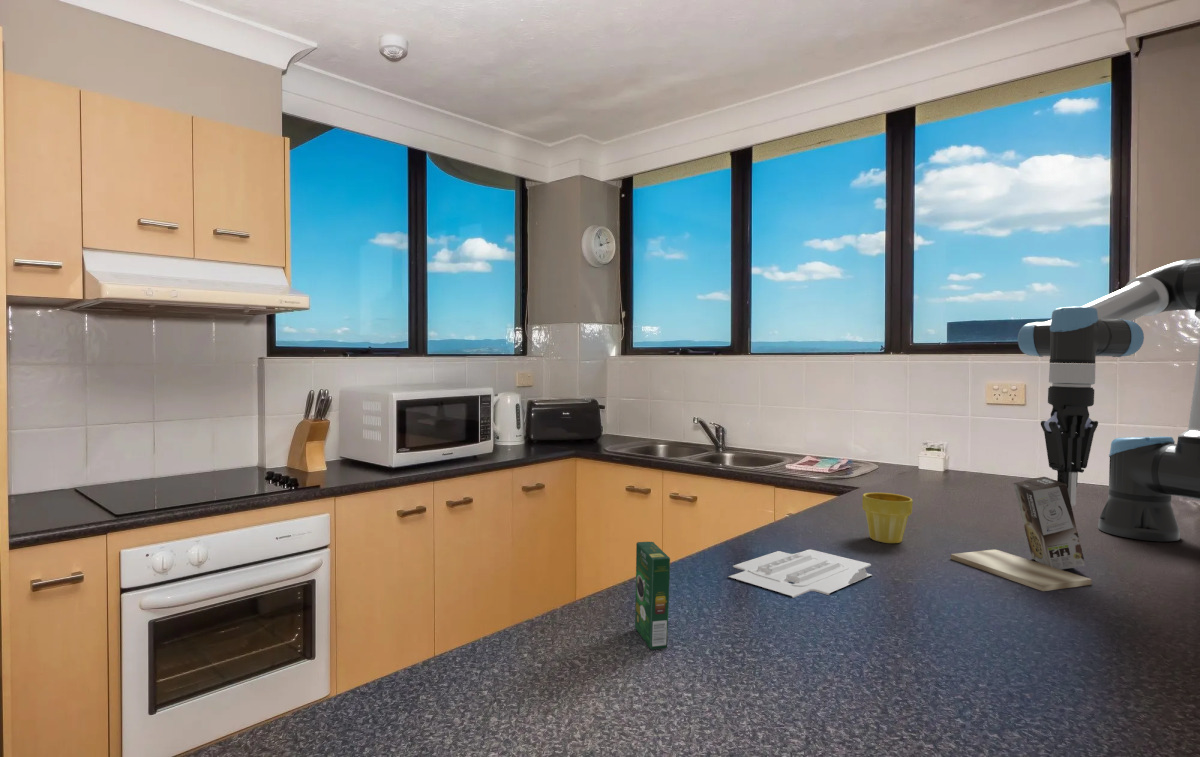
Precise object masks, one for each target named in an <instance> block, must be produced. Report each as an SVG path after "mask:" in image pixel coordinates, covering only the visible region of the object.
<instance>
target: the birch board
mask: <svg viewBox="0 0 1200 757" xmlns="http://www.w3.org/2000/svg"><path fill="white" fill-rule="evenodd" d="M950 560H953V561H955V562H958V563H961V564H963V565H967V566H969V567H972V568H975V569H979V570H980V571H984V572H987V573H990V574H992V575H996V576H998V577H1001V578H1004V579H1007V580H1010V581H1013V582H1014V583H1017V584H1018V583H1019V584H1020V585H1021V584H1022V585H1024V586H1027V587H1030V588H1032V589H1036V590H1038V591H1040V592H1046V591H1047V592H1048V591H1049V592H1050V591H1054V590H1062V589H1069V588H1077V587H1083V586H1090V585H1091V586H1092V582H1093V581H1092V578H1089V577H1086V576H1083V575H1079V574H1076V573H1073V572H1070V571H1066V570H1065V569H1062V570H1060V569H1057V568H1054V567H1051V566H1047V565H1044V564H1041V563H1039V562H1037V561H1036V560H1035V561H1034V560H1031V559H1028V558H1025V557H1022V556H1018V555H1015V554H1011V553H1008V552H1006V551H1002V550H999V549H987V550H985V549H984V550H978V551H977V550H976V551H968V552H966V551H965V552H957V553H950Z"/></svg>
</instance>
